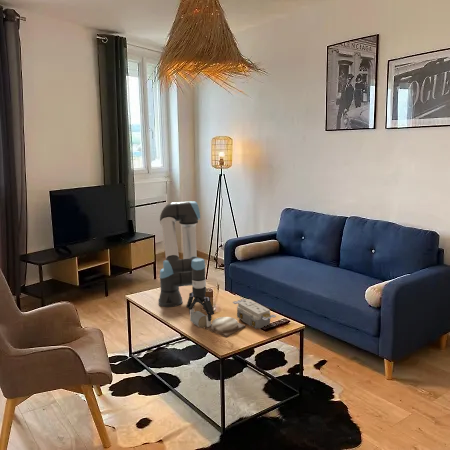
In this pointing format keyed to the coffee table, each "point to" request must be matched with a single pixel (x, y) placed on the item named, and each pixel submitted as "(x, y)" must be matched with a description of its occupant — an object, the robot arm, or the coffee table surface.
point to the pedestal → (225, 326)
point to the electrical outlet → (253, 313)
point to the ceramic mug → (199, 319)
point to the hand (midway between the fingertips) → (200, 323)
